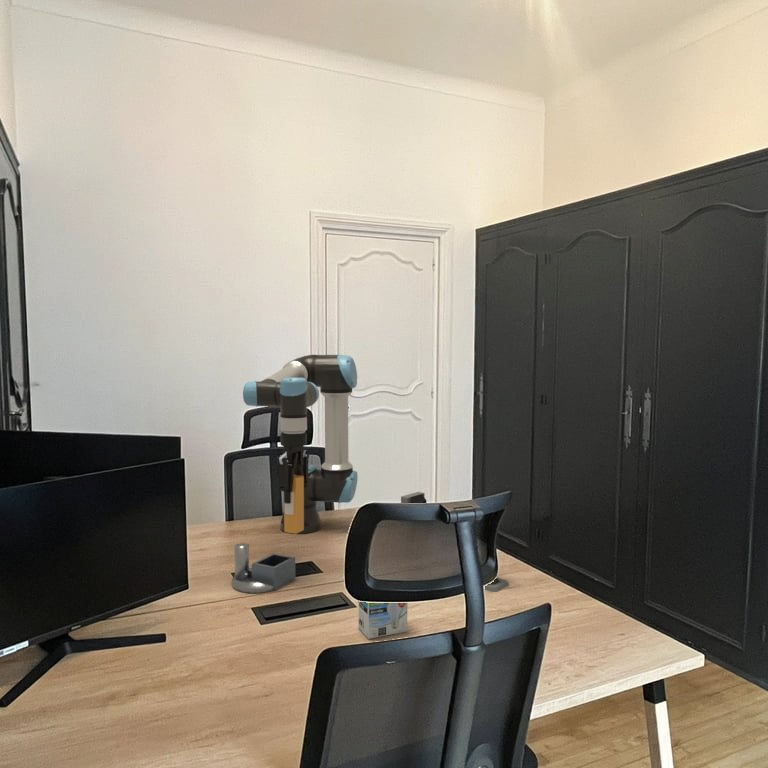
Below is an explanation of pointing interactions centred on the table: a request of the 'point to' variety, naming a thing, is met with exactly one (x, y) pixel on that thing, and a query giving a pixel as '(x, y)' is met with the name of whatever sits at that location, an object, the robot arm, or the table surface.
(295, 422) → the robot arm
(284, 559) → the bracket
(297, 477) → the orange rectangular block
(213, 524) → the table surface
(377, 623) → the light bulb box
